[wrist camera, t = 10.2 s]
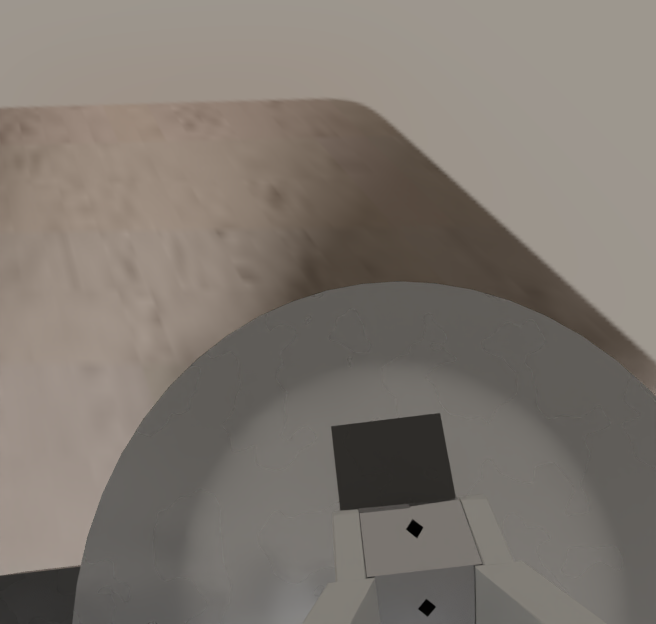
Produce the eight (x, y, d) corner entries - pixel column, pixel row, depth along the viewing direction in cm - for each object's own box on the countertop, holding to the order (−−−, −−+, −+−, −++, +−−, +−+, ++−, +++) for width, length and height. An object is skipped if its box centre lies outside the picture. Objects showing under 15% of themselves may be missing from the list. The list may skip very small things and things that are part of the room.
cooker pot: (127, 876, 24) (-85, 1191, 13) (137, 416, 31) (9, 361, 20) (737, 814, 23) (1081, 1090, 12) (598, 360, 31) (731, 270, 20)
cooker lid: (76, 1067, 13) (-21, 1251, 10) (109, 332, 20) (58, 296, 17) (873, 994, 12) (1052, 1162, 9) (621, 267, 19) (673, 216, 16)
